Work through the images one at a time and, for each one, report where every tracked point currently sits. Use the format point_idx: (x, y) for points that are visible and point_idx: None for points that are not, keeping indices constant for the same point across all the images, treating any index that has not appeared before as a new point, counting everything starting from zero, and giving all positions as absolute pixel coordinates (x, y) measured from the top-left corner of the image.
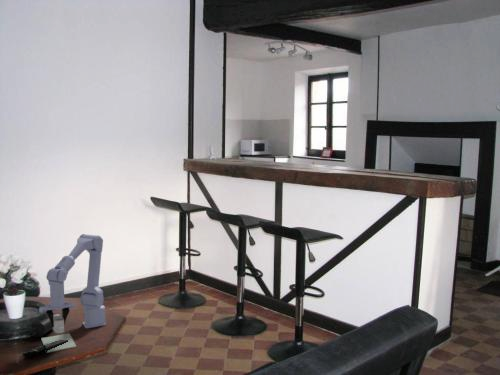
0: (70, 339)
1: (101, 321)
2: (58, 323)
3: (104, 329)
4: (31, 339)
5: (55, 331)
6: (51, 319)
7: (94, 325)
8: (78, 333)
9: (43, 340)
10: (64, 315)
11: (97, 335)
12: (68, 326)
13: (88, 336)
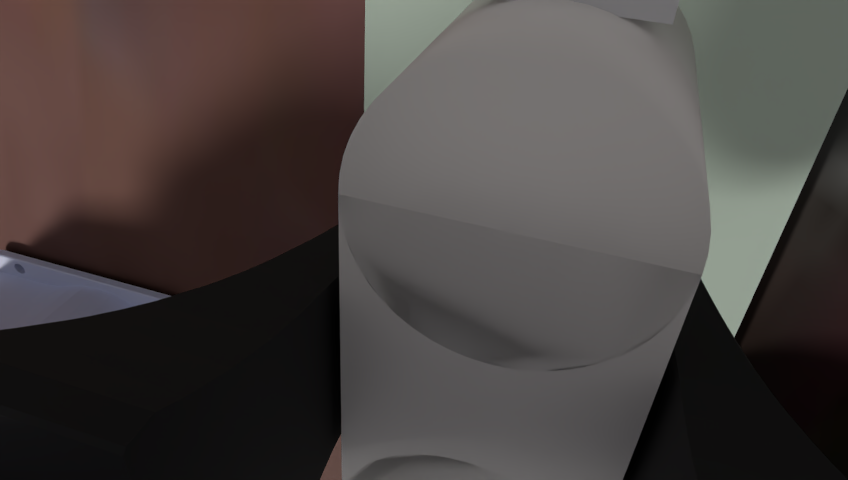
0: None
1: (5, 298)
2: (608, 45)
3: (3, 160)
4: (817, 441)
5: (692, 46)
6: (749, 417)
7: (90, 291)
8: (269, 240)
9: (729, 302)
10: (252, 330)
11: (63, 36)
12: (334, 449)
13: (167, 77)
